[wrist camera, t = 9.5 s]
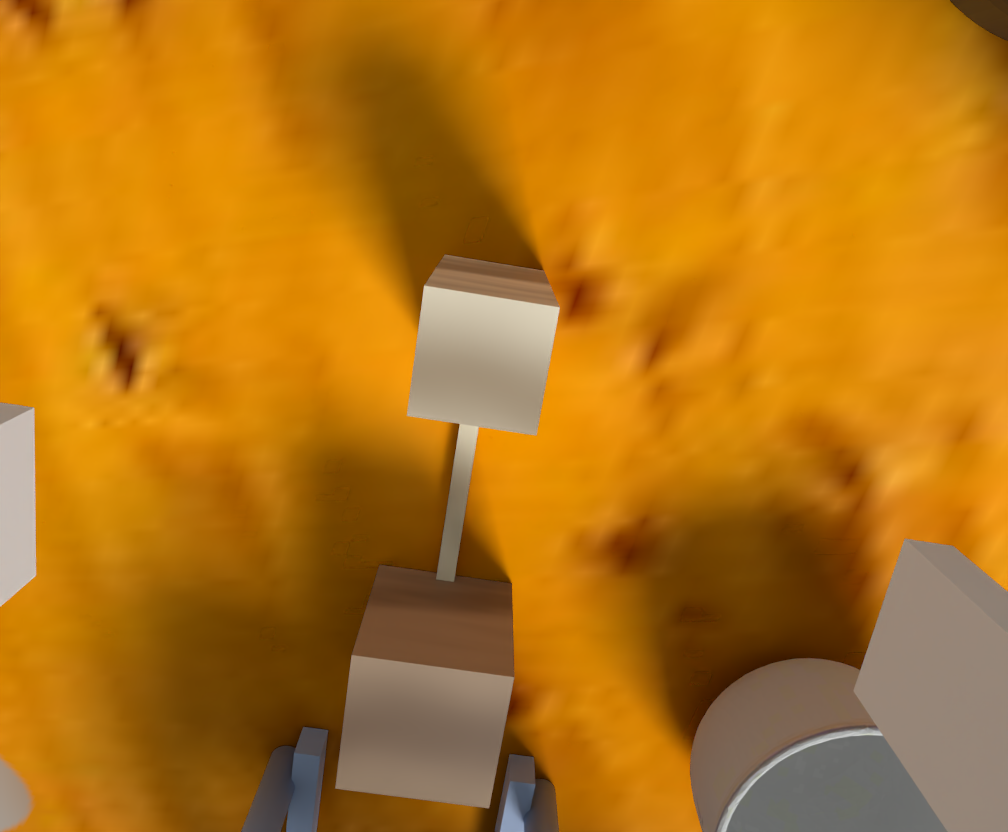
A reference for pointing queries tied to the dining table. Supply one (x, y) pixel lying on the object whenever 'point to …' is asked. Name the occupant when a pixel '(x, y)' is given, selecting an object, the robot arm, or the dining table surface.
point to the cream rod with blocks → (450, 555)
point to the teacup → (800, 758)
